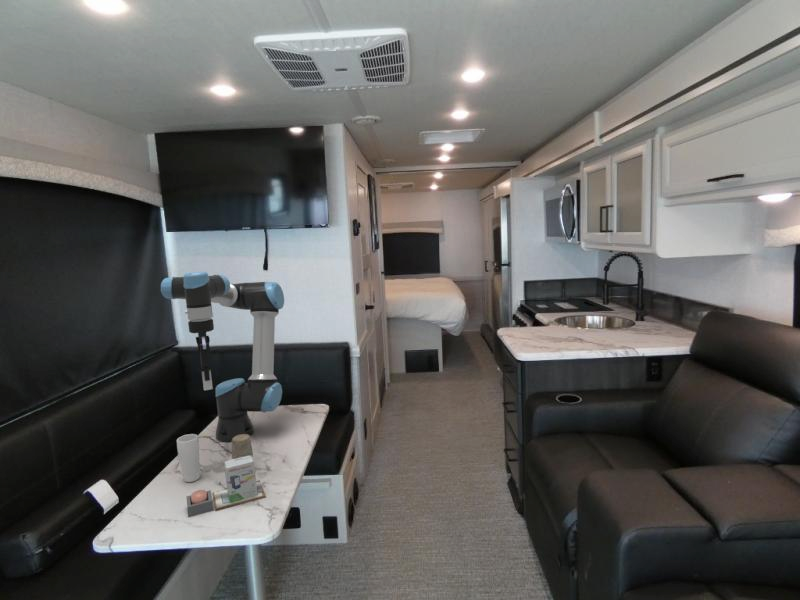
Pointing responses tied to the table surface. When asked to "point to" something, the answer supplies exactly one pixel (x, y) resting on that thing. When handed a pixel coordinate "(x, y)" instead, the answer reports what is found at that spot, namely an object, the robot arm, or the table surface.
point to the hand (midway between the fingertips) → (208, 389)
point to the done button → (198, 496)
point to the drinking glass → (189, 457)
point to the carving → (241, 446)
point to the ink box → (240, 478)
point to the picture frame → (223, 501)
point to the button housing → (199, 505)
